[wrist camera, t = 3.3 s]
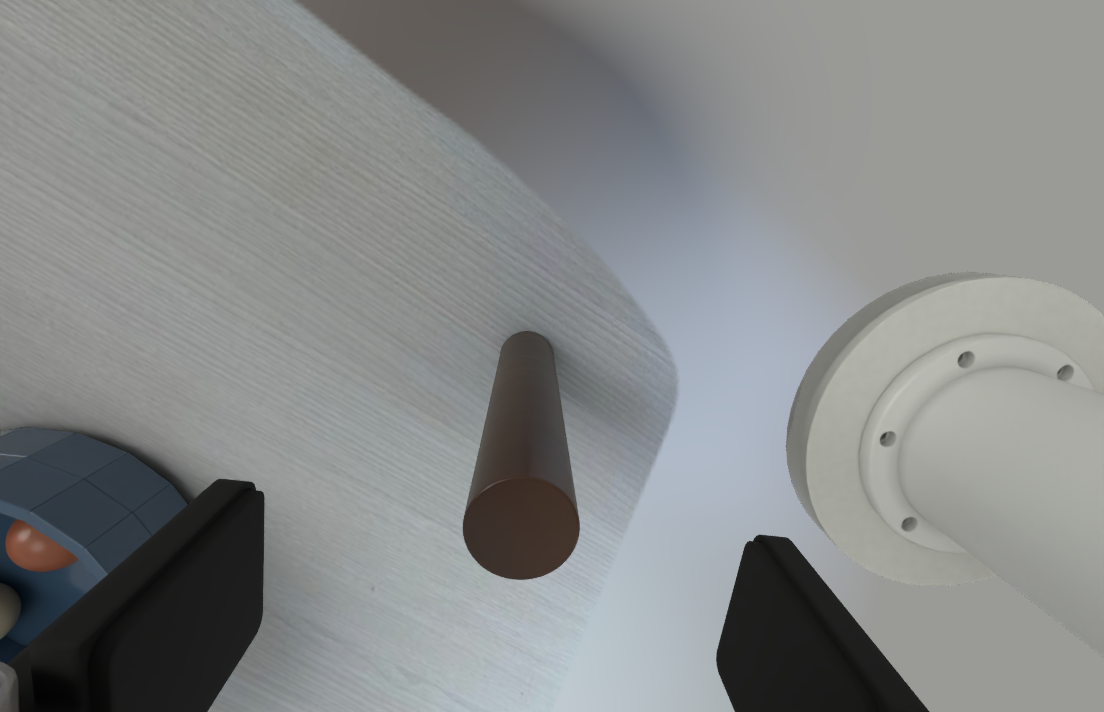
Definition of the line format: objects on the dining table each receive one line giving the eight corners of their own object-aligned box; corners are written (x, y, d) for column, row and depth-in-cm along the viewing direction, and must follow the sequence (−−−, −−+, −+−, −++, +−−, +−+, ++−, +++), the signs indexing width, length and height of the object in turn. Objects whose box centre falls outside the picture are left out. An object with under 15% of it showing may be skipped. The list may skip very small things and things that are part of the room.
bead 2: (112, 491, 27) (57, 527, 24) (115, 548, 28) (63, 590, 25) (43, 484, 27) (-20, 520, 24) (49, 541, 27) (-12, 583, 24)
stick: (557, 334, 26) (588, 483, 12) (549, 385, 27) (570, 586, 12) (503, 327, 26) (468, 470, 12) (497, 379, 27) (457, 574, 12)
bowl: (222, 442, 27) (139, 505, 21) (224, 689, 31) (153, 799, 25) (-105, 405, 26) (-288, 460, 20) (-63, 665, 30) (-206, 775, 24)
